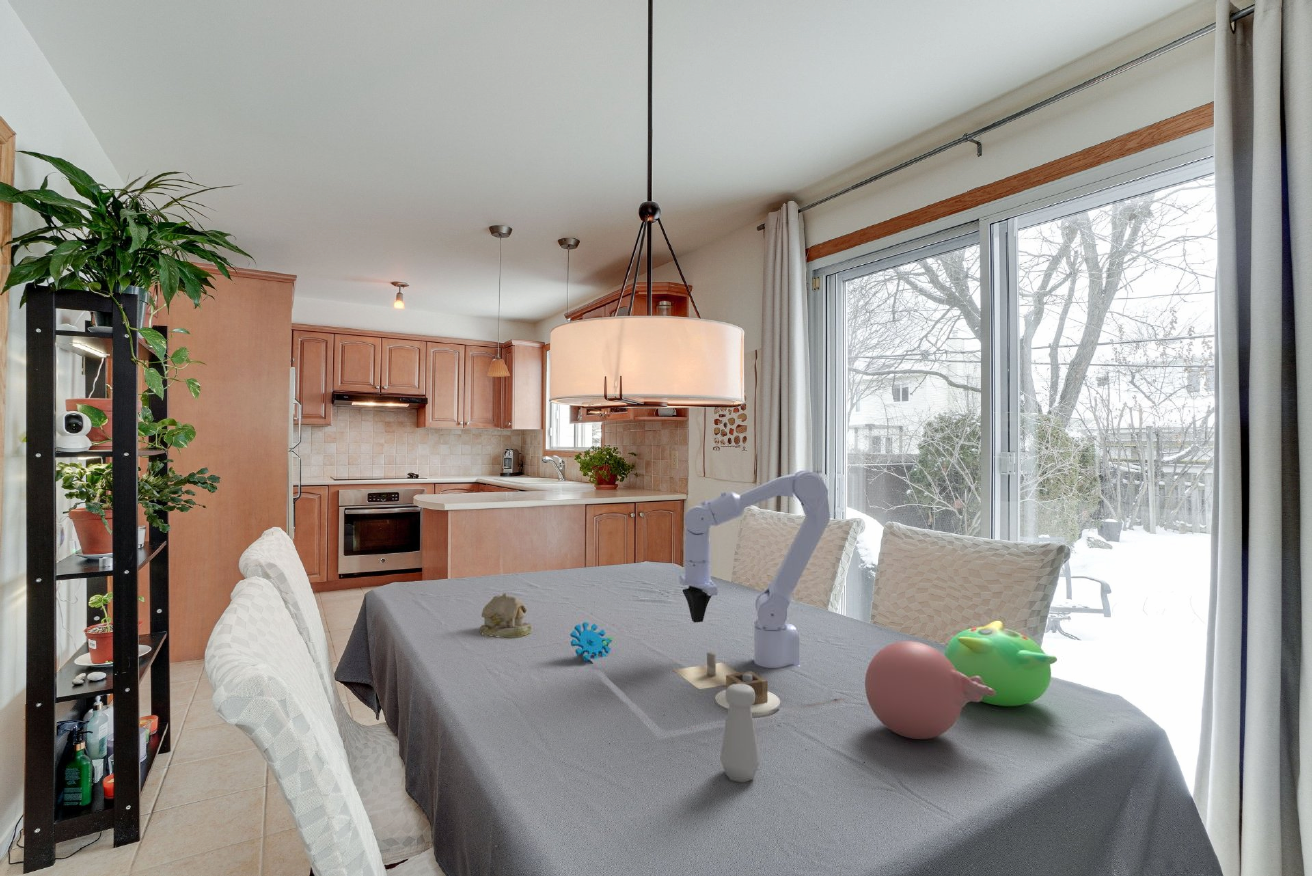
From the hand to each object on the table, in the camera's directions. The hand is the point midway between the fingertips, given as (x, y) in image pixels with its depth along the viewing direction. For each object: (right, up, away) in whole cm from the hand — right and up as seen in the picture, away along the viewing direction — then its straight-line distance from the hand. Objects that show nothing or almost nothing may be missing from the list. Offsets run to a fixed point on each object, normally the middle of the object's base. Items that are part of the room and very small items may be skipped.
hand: (697, 621), depth 145 cm
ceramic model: (-48, -10, +25) cm, 55 cm away
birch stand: (+2, -9, -10) cm, 14 cm away
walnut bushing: (+8, -8, -23) cm, 26 cm away
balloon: (+36, -9, -37) cm, 52 cm away
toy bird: (+55, -10, -21) cm, 60 cm away
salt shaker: (+3, -9, -49) cm, 50 cm away
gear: (-24, -10, +4) cm, 26 cm away
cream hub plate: (+8, -9, -23) cm, 26 cm away
